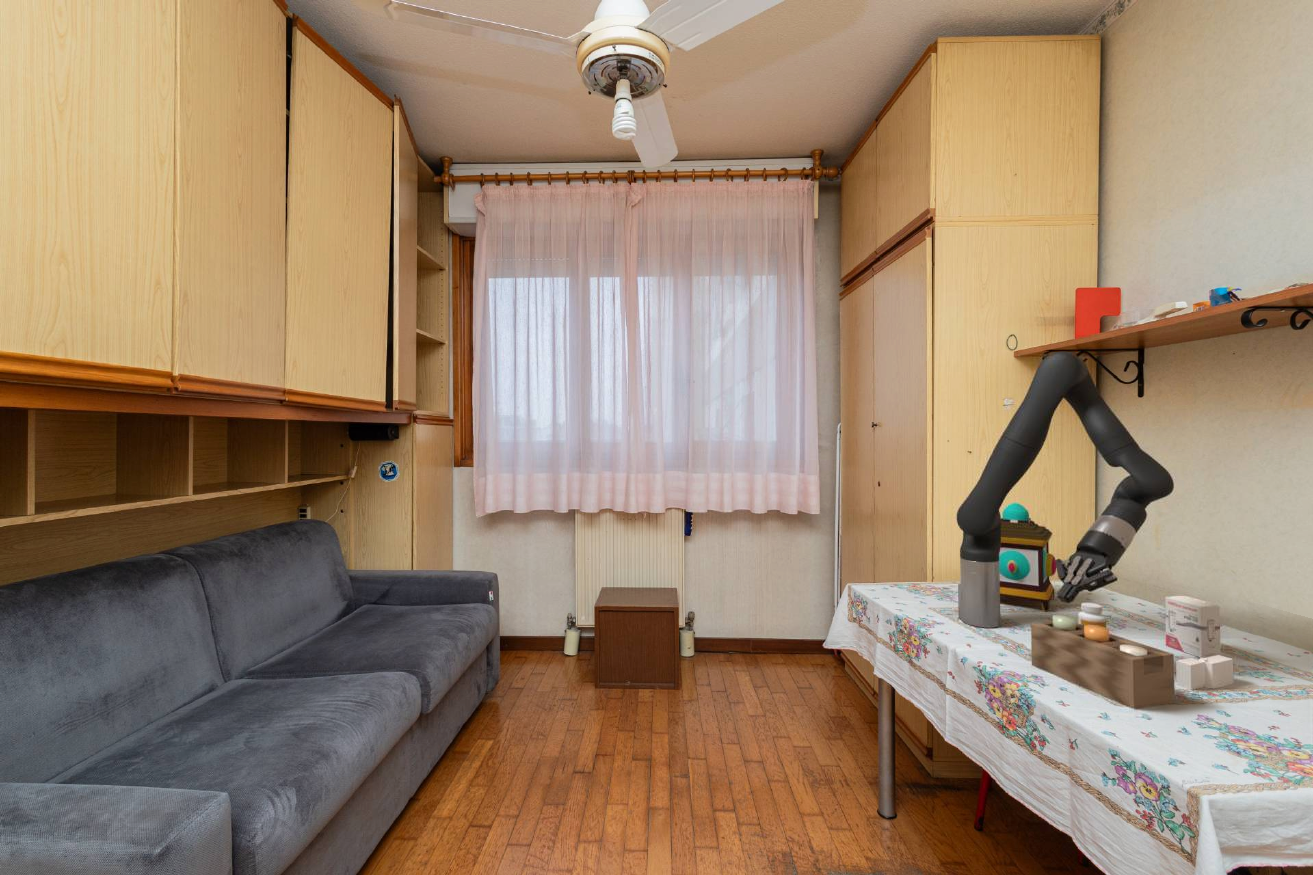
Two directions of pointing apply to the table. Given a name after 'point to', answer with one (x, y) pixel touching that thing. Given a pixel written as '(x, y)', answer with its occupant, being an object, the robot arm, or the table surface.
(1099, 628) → the orange egg
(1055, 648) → the wooden egg holder
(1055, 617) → the sage egg
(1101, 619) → the supplement bottle
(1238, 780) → the table surface
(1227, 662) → the white stepped block
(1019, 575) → the decorative lantern
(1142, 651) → the cream egg
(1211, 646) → the ink box
